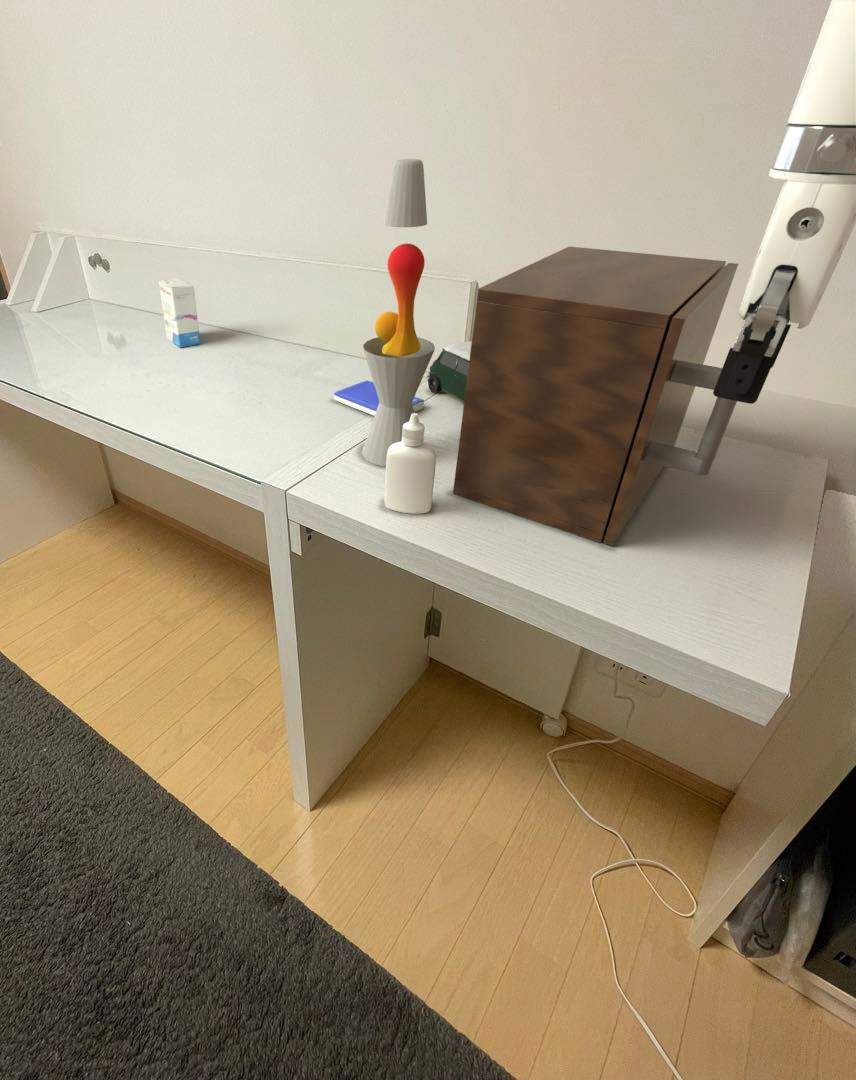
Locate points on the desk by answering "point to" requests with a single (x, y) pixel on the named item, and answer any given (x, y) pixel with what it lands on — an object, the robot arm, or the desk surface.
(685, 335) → the door
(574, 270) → the cupboard
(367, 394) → the blue book
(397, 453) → the eye dropper bottle
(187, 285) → the ink box
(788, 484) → the desk surface
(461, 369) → the miniature car
